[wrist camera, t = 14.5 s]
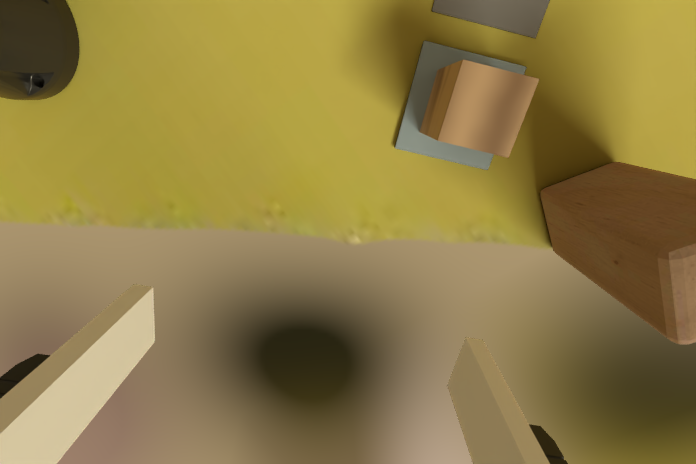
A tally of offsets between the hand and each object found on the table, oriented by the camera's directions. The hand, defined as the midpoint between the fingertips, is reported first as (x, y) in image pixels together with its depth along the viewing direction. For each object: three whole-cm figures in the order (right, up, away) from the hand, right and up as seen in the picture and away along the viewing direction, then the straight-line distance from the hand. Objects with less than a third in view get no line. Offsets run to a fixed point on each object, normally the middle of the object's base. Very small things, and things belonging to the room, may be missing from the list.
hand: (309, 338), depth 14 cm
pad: (+15, +19, +26) cm, 36 cm away
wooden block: (+32, +8, +30) cm, 45 cm away
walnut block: (+14, +19, +26) cm, 35 cm away
